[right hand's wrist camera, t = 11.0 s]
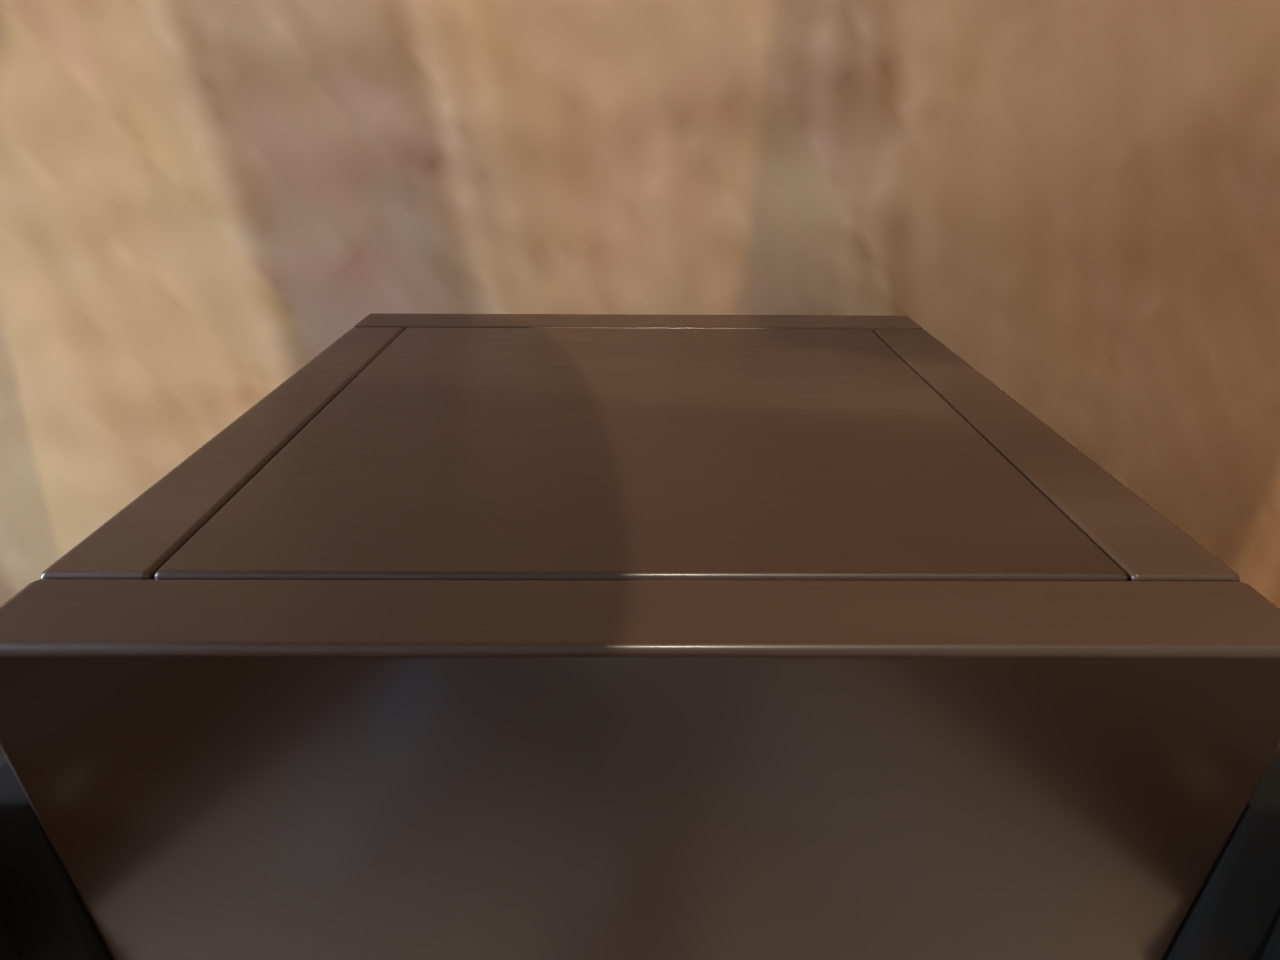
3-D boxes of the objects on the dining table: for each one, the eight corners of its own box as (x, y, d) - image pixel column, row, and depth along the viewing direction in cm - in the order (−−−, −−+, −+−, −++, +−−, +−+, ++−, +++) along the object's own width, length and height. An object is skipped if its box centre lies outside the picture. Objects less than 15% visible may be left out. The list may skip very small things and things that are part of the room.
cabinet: (799, 951, 25) (895, 1454, 16) (472, 952, 25) (374, 1457, 16) (907, 315, 15) (1339, 649, 6) (368, 312, 15) (-61, 648, 6)
